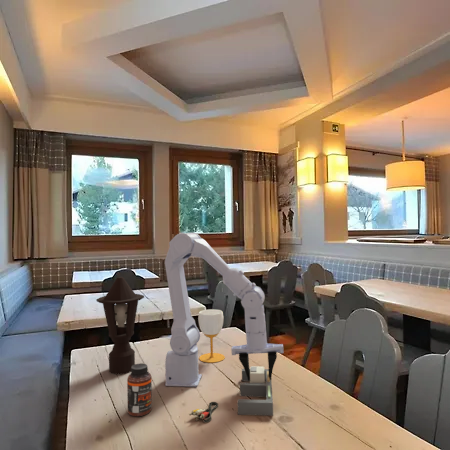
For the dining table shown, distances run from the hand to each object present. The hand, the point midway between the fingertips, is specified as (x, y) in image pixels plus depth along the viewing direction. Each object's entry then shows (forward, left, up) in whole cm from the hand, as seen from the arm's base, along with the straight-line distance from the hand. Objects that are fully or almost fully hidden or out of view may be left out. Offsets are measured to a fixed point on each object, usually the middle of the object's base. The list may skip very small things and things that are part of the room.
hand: (259, 379), depth 101 cm
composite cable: (-12, -15, -3) cm, 20 cm away
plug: (-1, 0, -2) cm, 3 cm away
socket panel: (-1, -5, -2) cm, 5 cm away
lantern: (-45, +11, -3) cm, 46 cm away
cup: (-17, +22, -3) cm, 28 cm away
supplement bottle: (-30, -15, -3) cm, 33 cm away
